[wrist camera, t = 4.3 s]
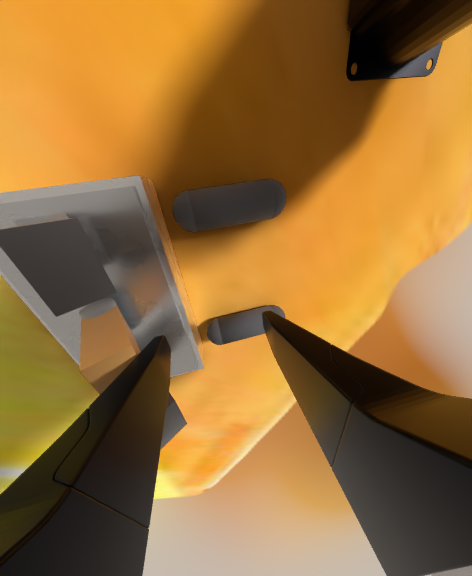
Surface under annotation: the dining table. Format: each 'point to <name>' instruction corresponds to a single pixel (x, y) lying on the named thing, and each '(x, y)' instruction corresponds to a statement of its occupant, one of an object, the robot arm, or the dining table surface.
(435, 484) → the robot arm
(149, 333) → the strip
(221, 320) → the cable
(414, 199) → the dining table surface
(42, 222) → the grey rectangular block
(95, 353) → the orange rectangular block
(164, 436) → the paddle
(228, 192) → the cable
